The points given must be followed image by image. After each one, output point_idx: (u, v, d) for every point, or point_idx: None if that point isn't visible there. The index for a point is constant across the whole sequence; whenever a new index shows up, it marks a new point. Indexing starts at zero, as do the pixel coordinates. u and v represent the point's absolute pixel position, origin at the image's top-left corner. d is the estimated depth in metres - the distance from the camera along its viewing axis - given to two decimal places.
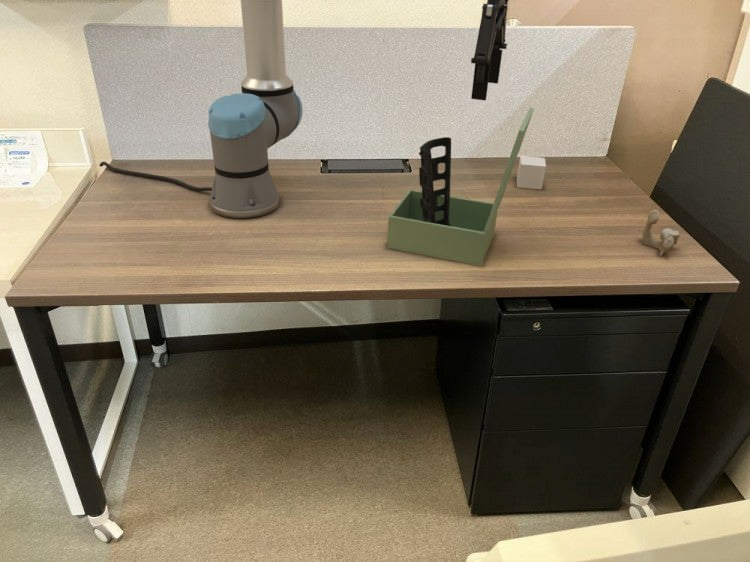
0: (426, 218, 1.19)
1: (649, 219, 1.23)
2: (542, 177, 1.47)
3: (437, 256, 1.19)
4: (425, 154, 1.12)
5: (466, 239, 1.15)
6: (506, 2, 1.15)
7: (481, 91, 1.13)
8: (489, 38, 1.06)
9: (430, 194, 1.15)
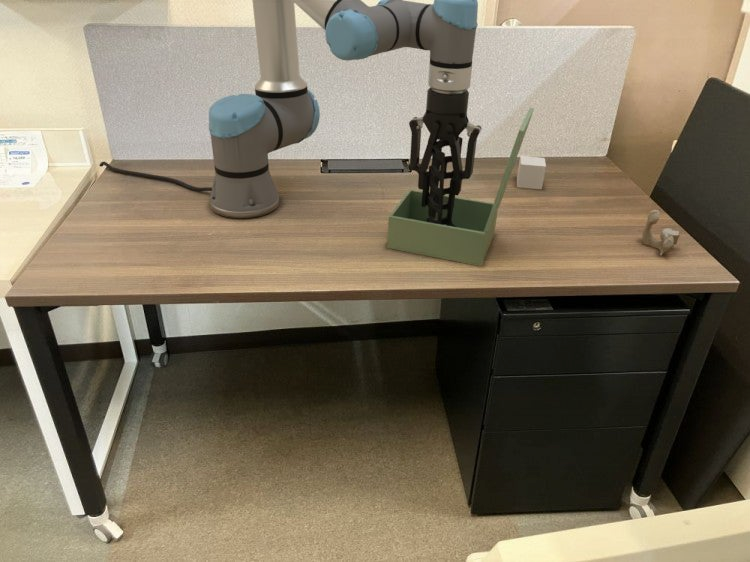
0: (432, 217, 1.19)
1: (649, 219, 1.23)
2: (542, 177, 1.47)
3: (437, 256, 1.19)
4: (438, 153, 1.11)
5: (466, 239, 1.15)
6: (471, 132, 1.10)
7: None
8: (411, 149, 1.16)
9: (439, 194, 1.14)
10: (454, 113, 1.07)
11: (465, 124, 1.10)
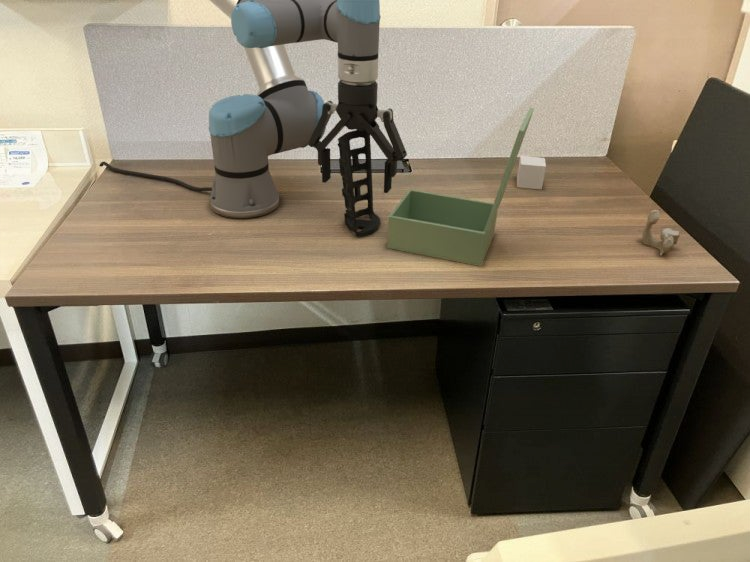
0: (347, 207, 1.24)
1: (649, 219, 1.23)
2: (542, 177, 1.47)
3: (437, 256, 1.19)
4: (341, 145, 1.17)
5: (466, 239, 1.15)
6: (383, 116, 1.14)
7: None
8: (315, 128, 1.20)
9: (348, 183, 1.20)
10: (362, 104, 1.12)
11: (375, 114, 1.15)
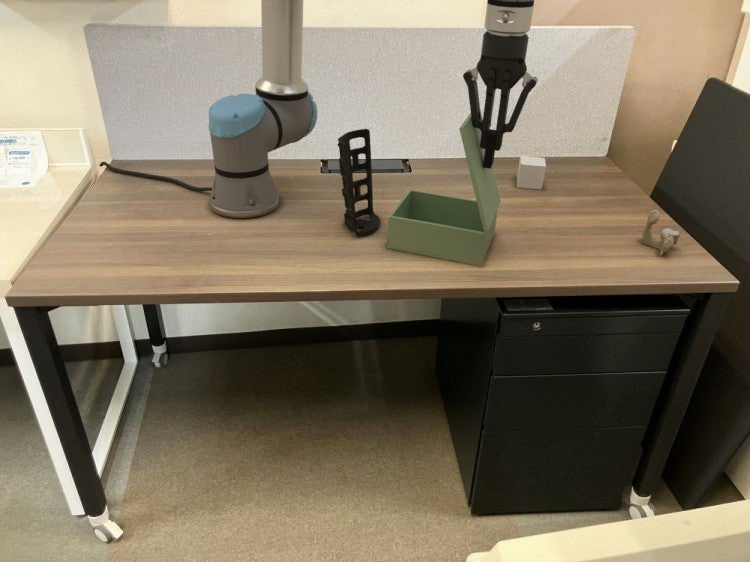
0: (347, 207, 1.24)
1: (649, 219, 1.23)
2: (542, 177, 1.47)
3: (437, 256, 1.19)
4: (341, 145, 1.17)
5: (466, 239, 1.15)
6: (528, 82, 1.02)
7: None
8: (470, 105, 1.08)
9: (348, 183, 1.20)
10: (513, 58, 0.99)
11: (524, 71, 1.02)
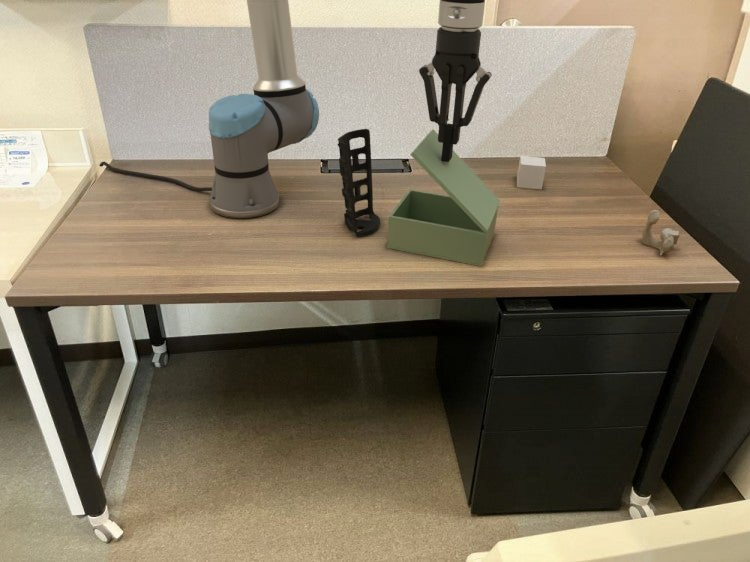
0: (347, 207, 1.24)
1: (649, 219, 1.23)
2: (542, 177, 1.47)
3: (437, 256, 1.19)
4: (341, 145, 1.17)
5: (466, 239, 1.15)
6: (481, 77, 1.05)
7: None
8: (427, 99, 1.10)
9: (348, 183, 1.20)
10: (466, 53, 1.02)
11: (477, 66, 1.04)
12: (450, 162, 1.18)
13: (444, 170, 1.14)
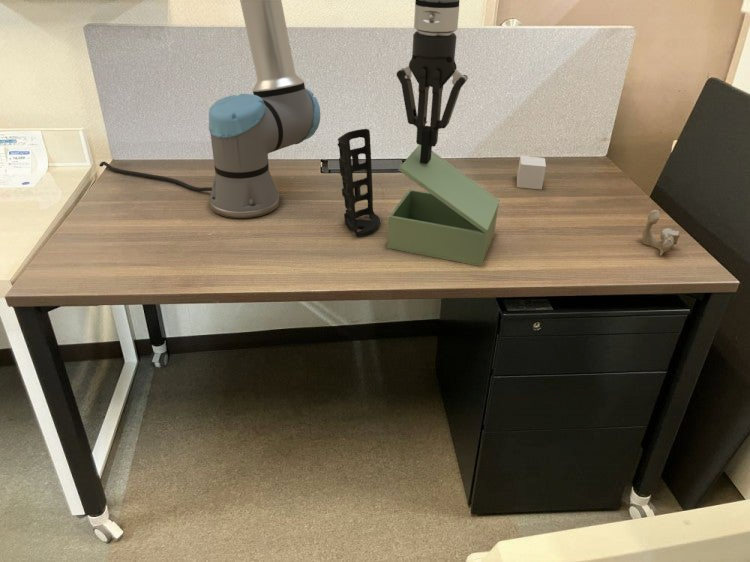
0: (347, 207, 1.24)
1: (649, 219, 1.23)
2: (542, 177, 1.47)
3: (437, 256, 1.19)
4: (341, 145, 1.17)
5: (466, 239, 1.15)
6: (457, 80, 1.06)
7: None
8: (405, 102, 1.12)
9: (348, 183, 1.20)
10: (441, 56, 1.03)
11: (453, 69, 1.06)
12: (441, 171, 1.19)
13: (435, 179, 1.15)
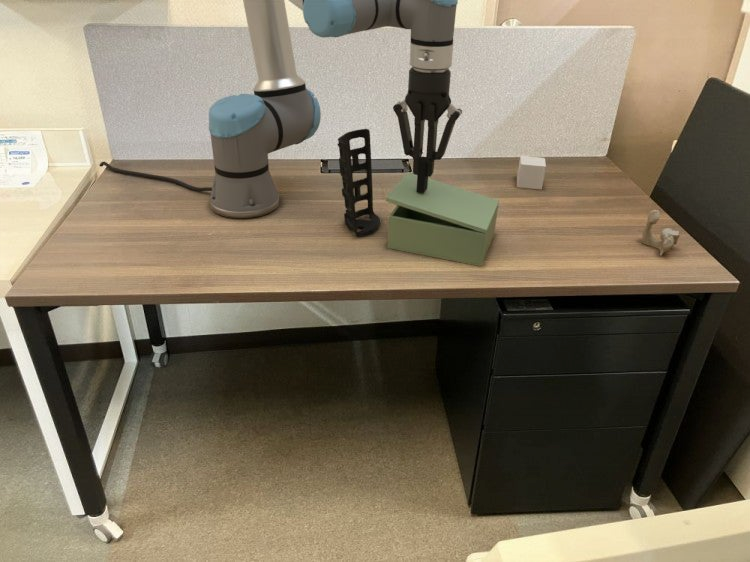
0: (347, 207, 1.24)
1: (649, 219, 1.23)
2: (542, 177, 1.47)
3: (437, 256, 1.19)
4: (341, 145, 1.17)
5: (466, 239, 1.15)
6: (452, 114, 1.10)
7: None
8: None
9: (348, 183, 1.20)
10: (436, 92, 1.07)
11: (447, 104, 1.09)
12: (432, 190, 1.22)
13: (425, 199, 1.18)
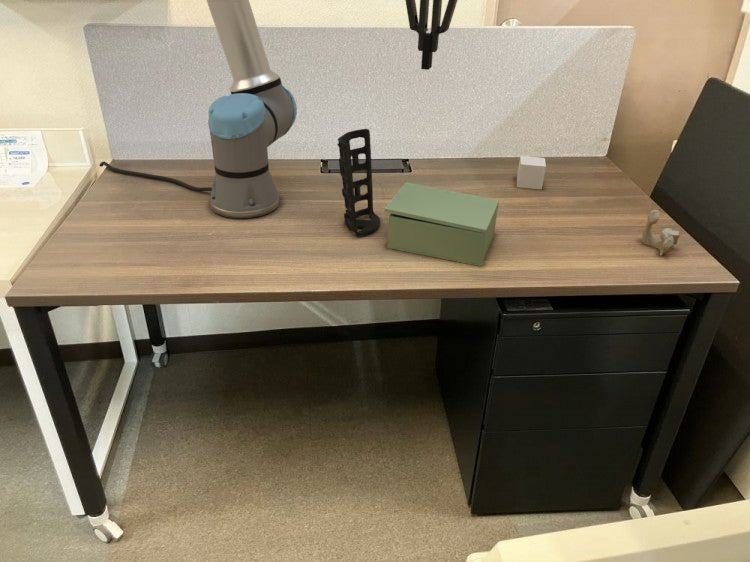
0: (347, 207, 1.24)
1: (649, 219, 1.23)
2: (542, 177, 1.47)
3: (437, 256, 1.19)
4: (341, 145, 1.17)
5: (466, 239, 1.15)
6: None
7: None
8: (407, 8, 1.19)
9: (348, 183, 1.20)
10: None
11: None
12: (430, 197, 1.23)
13: (424, 206, 1.19)
